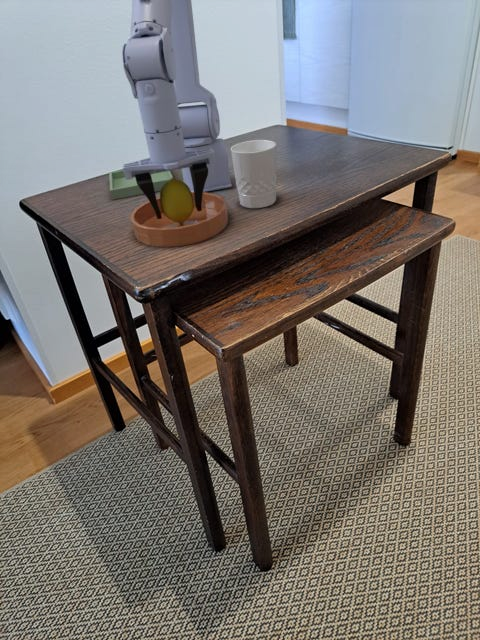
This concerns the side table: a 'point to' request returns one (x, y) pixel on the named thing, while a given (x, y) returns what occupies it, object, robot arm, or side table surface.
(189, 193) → the lemon
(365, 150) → the side table surface
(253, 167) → the white cup
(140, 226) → the pan
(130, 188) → the tray
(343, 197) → the side table surface
